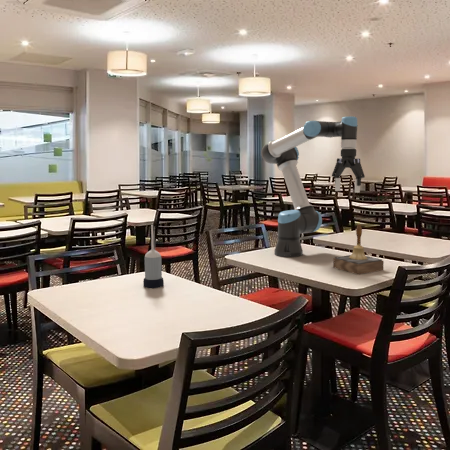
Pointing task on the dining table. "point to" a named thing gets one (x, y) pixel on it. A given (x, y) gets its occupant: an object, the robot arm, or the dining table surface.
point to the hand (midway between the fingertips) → (347, 191)
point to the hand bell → (358, 246)
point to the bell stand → (358, 264)
